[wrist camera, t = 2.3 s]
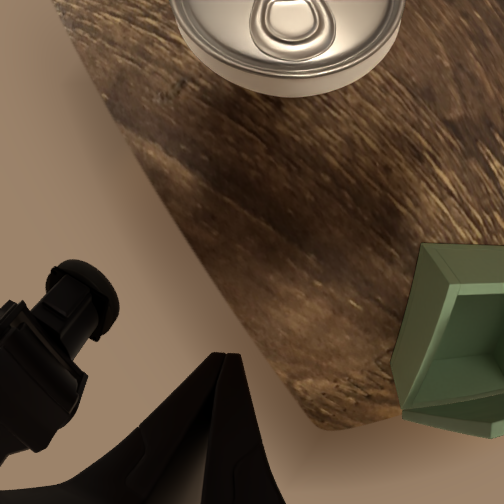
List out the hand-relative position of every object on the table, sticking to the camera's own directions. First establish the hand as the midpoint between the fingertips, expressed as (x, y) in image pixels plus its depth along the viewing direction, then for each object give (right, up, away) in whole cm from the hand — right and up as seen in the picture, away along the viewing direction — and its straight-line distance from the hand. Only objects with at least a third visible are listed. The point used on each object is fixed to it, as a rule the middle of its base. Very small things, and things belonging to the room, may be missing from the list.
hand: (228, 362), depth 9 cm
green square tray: (+18, -1, +13) cm, 22 cm away
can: (+3, +15, +7) cm, 17 cm away
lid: (+17, -6, +5) cm, 19 cm away
